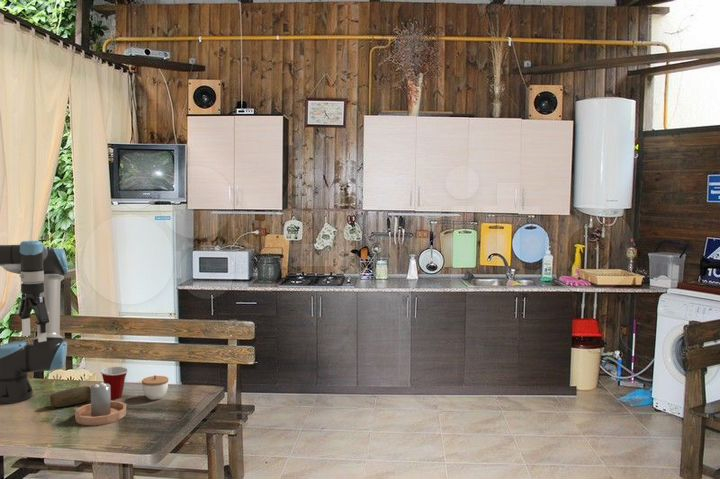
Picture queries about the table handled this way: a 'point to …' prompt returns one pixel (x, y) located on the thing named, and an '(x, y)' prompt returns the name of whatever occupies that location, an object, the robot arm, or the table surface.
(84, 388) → the stone weight
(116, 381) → the plastic cup
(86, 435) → the table surface
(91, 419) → the terracotta bowl
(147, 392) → the lidded jar
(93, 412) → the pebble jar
